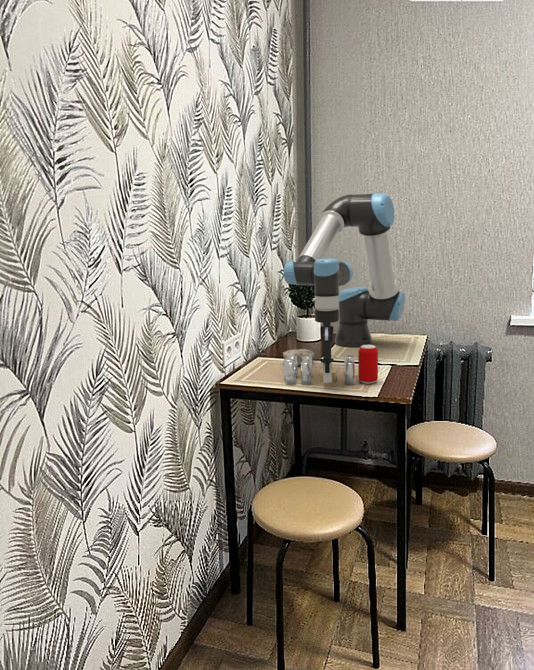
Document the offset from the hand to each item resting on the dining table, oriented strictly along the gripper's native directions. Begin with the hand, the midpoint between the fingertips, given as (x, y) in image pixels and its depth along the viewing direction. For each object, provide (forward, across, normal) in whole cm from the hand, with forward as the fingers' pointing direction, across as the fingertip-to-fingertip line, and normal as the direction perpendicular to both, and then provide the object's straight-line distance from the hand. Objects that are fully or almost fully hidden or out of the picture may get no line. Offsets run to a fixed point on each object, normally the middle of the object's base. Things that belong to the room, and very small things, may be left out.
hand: (327, 381), depth 197 cm
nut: (+2, -7, 0) cm, 8 cm away
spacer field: (+2, -7, 0) cm, 8 cm away
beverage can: (+2, -5, +13) cm, 14 cm away
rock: (+2, -29, -12) cm, 31 cm away
